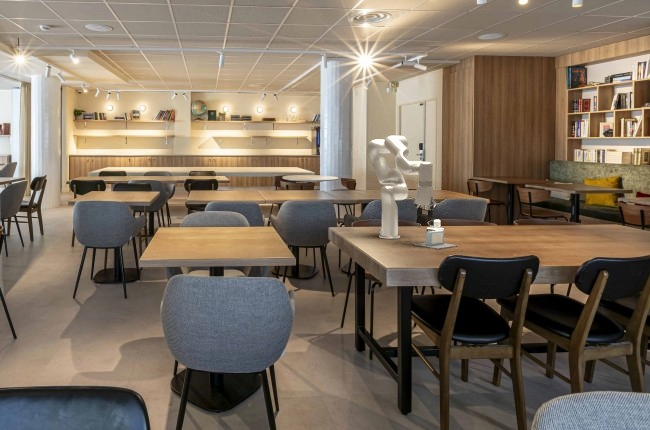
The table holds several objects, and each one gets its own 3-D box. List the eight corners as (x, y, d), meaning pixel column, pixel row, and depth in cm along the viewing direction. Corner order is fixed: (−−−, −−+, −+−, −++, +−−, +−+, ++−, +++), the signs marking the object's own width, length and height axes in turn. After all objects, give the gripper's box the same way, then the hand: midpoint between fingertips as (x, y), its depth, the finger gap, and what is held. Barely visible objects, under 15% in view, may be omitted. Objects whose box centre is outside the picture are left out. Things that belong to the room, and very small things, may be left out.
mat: (412, 245, 347) (412, 244, 347) (432, 242, 357) (432, 241, 357) (438, 249, 333) (438, 248, 333) (457, 246, 343) (457, 245, 343)
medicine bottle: (426, 240, 366) (426, 219, 365) (434, 239, 370) (435, 218, 369) (435, 241, 361) (435, 220, 359) (443, 240, 365) (444, 219, 363)
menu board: (426, 245, 342) (426, 231, 342) (439, 243, 349) (439, 230, 348) (430, 246, 340) (430, 232, 339) (443, 244, 347) (444, 230, 346)
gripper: (409, 183, 351) (408, 215, 353) (432, 185, 338) (432, 218, 340) (418, 183, 356) (417, 214, 358) (442, 185, 343) (441, 217, 345)
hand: (424, 216), depth 349 cm, fingers open, 7 cm apart
